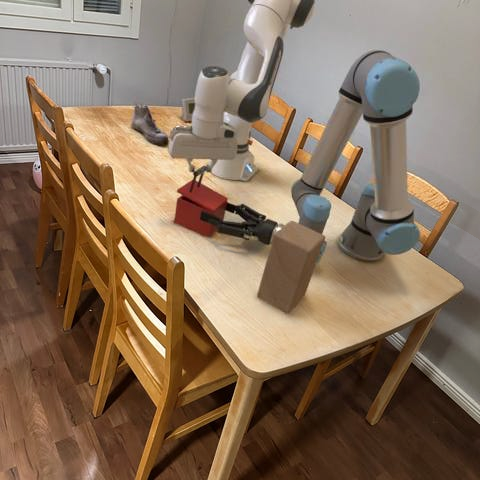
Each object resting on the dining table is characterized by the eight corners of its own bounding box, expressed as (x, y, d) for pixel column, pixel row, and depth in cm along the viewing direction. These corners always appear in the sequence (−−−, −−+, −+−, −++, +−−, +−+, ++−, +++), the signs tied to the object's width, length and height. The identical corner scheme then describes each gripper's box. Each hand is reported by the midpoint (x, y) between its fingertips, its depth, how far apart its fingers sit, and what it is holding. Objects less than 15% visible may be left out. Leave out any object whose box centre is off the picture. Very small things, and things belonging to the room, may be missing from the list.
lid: (176, 191, 134) (183, 168, 129) (192, 181, 142) (199, 159, 137) (213, 212, 132) (221, 189, 127) (227, 200, 140) (235, 178, 135)
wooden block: (289, 314, 113) (310, 251, 102) (255, 296, 116) (273, 233, 106) (304, 296, 120) (326, 235, 110) (273, 279, 124) (291, 219, 113)
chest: (173, 222, 139) (177, 198, 135) (189, 210, 148) (193, 187, 143) (208, 237, 136) (213, 212, 132) (222, 224, 144) (227, 200, 140)
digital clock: (183, 122, 219) (186, 101, 213) (175, 116, 224) (177, 95, 219) (211, 122, 228) (214, 101, 222) (202, 115, 233) (205, 95, 228)
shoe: (172, 146, 190) (175, 119, 184) (147, 147, 185) (150, 118, 178) (151, 125, 207) (154, 99, 201) (129, 125, 202) (130, 98, 195)
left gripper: (173, 129, 119) (168, 175, 126) (242, 133, 127) (234, 176, 134) (168, 121, 124) (163, 166, 131) (235, 125, 132) (227, 167, 139)
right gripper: (257, 262, 125) (189, 233, 131) (283, 229, 143) (222, 205, 149) (263, 240, 121) (193, 212, 127) (289, 209, 139) (226, 186, 145)
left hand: (200, 171), depth 133 cm, fingers closed on lid, 4 cm apart
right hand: (209, 208), depth 138 cm, fingers closed on chest, 10 cm apart
